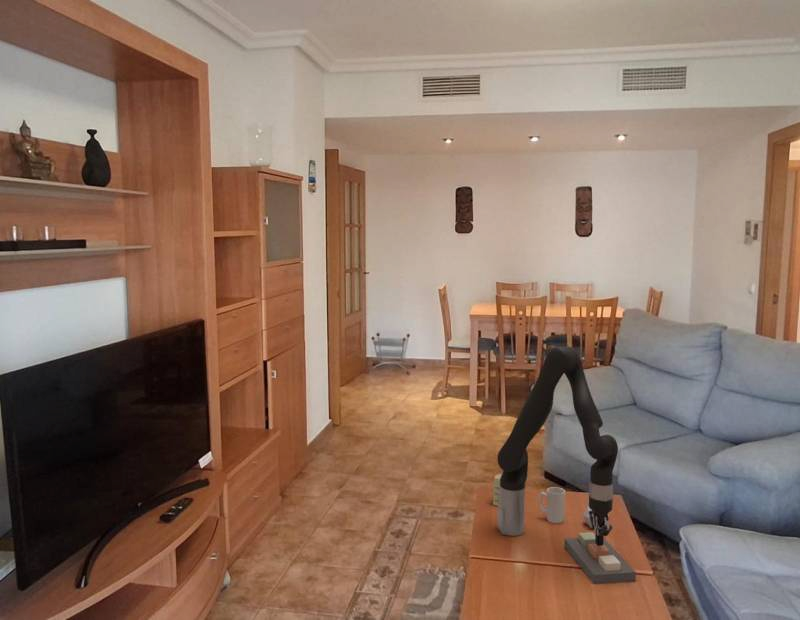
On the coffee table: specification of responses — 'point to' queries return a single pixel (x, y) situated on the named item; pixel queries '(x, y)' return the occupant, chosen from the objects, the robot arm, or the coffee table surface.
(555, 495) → the mug
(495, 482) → the box
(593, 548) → the key terracotta
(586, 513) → the die
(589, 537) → the key sage
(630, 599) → the coffee table surface
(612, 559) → the key ivory
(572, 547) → the key panel
